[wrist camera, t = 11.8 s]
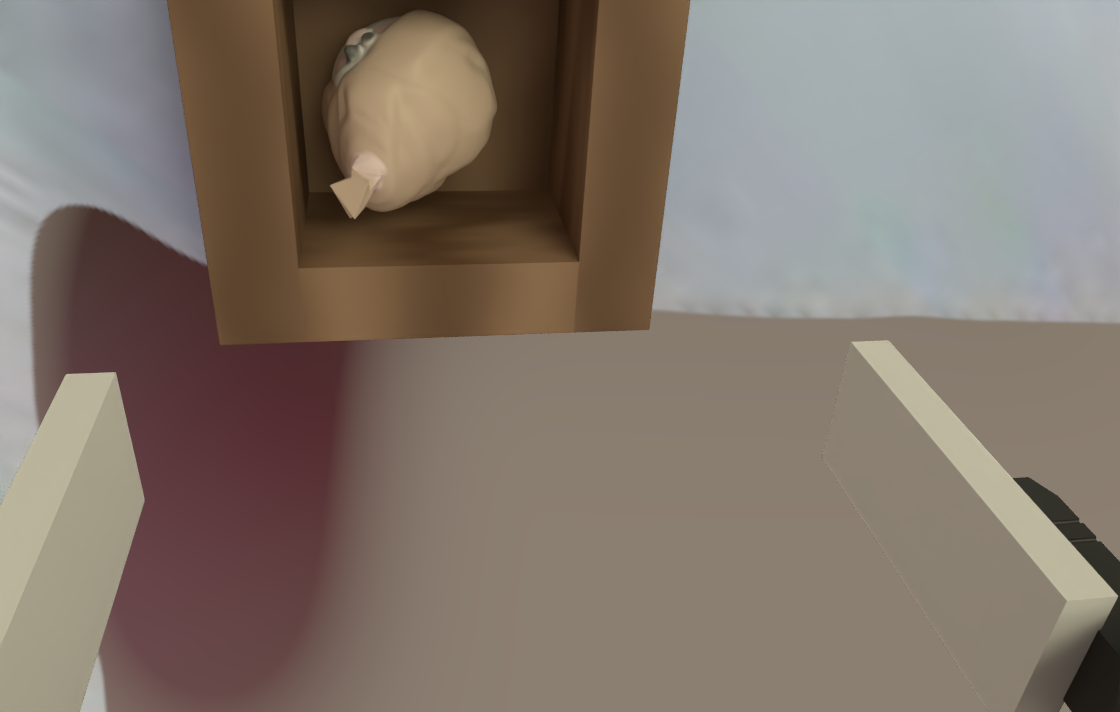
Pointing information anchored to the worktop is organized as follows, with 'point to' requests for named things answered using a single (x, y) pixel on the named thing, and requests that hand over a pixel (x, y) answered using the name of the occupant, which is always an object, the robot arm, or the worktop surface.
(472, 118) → the garlic bulb
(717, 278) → the worktop surface
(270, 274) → the walnut well
